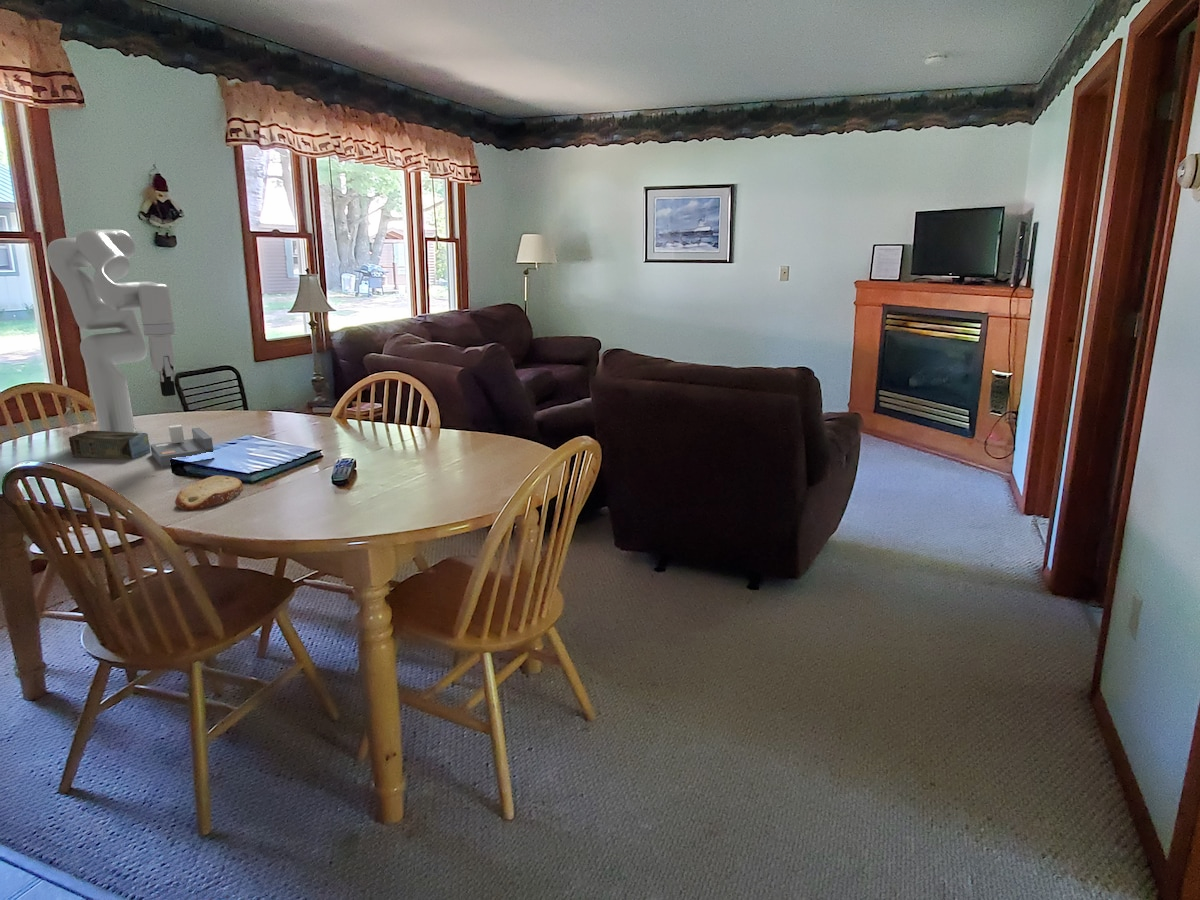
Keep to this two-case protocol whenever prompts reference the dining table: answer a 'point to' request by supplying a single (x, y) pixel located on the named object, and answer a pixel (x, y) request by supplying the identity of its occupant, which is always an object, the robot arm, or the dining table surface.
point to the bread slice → (209, 493)
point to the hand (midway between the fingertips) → (168, 395)
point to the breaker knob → (176, 434)
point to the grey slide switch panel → (182, 447)
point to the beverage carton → (109, 444)
